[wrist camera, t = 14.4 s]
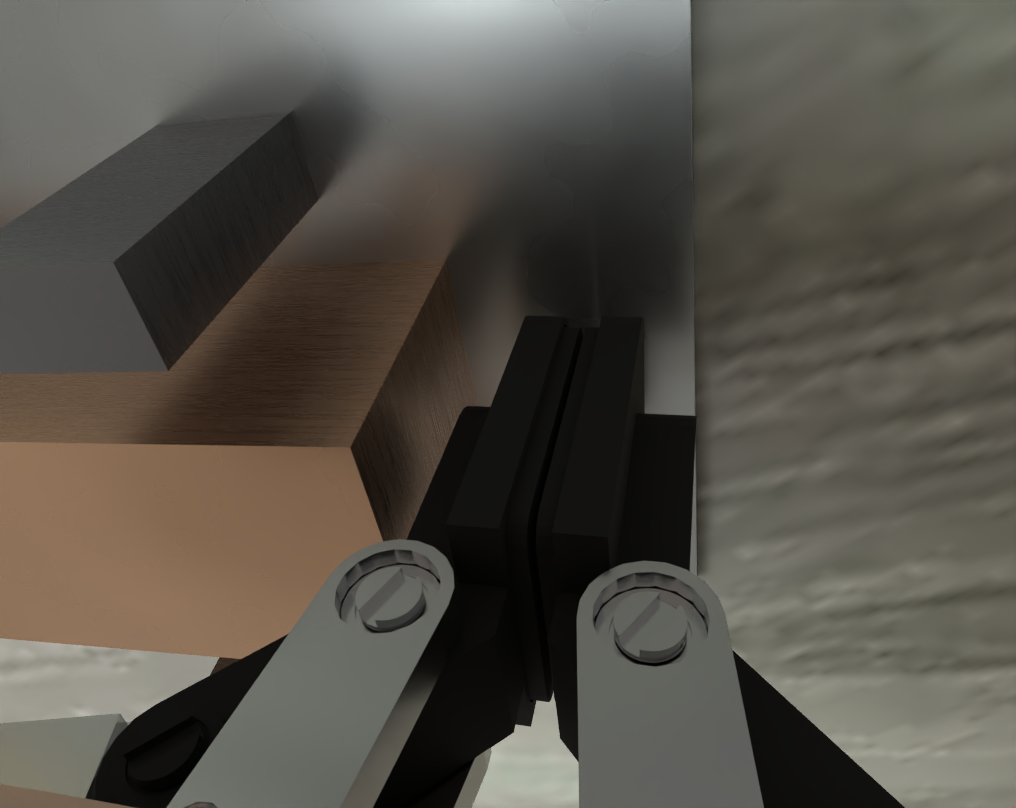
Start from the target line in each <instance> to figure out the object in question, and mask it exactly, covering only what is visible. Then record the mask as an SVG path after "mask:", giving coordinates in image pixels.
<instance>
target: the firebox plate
mask: <svg viewBox="0 0 1016 808" xmlns="http://www.w3.org/2000/svg"><path fill="white" fill-rule="evenodd" d="M443 259H446V262H447V266H448V271H449V276H450V280H451V285H452V290H453V295H454V299H455V304H456V309H457V313H458V318H459V323H460V328H461V332H462V337H463V342H464V346H465V351H466V356H467V361H468V365H469V370H470V375H471V379H472V384H473V389H474V394H475V398H476V403H477V406H482V407H491V404H492V401H493V399H494V396H495V394H496V391H497V388H498V386H499V383H500V380H501V378H502V375H503V373H504V370H505V367H506V365H507V362H508V359H509V357H510V354H511V352H512V349H513V346H514V344H515V341H516V339H517V336H518V333H519V331H520V328H521V325H522V323H523V320H524V318H525V317H526V316H566V317H567V319H568V323H569V327H581V328H582V331H583V335H584V331H585V328H586V327H599V326H600V322H601V318H602V317H643V319H644V391H645V414H667V415H689V416H696V413H695V317H694V222H693V126H692V30H691V0H0V371H1V373H2V374H35V373H93V372H152V371H169V370H170V369H171V368H172V366H173V365H174V364H175V363H176V362H177V361H178V360H179V358H180V357H181V356H182V355H183V354H184V353H185V352H186V350H187V349H188V348H189V347H190V346H191V345H192V344H193V342H194V341H195V340H196V339H197V338H198V337H199V336H200V334H201V333H202V332H203V331H204V330H205V329H206V328H207V327H208V325H209V324H210V323H211V322H212V321H213V320H214V319H215V317H216V316H217V315H218V314H219V313H220V312H221V311H222V309H223V308H224V307H225V306H226V305H227V304H228V303H229V301H230V300H231V299H232V298H233V297H234V296H235V295H236V293H237V292H238V291H239V290H240V289H241V288H242V287H243V285H244V284H245V283H246V282H247V281H248V280H249V279H250V277H251V276H252V275H253V274H254V273H255V272H256V271H257V269H258V268H259V267H278V266H302V265H325V264H349V263H373V262H396V261H420V260H443ZM690 572H691V573H693V574H694V575H696V576H697V509H696V436H695V459H694V483H693V507H692V530H691V554H690ZM238 660H240V659H236V658H224V657H220V658H219V660H218V661H217V663H216V665H215V667H214V669H213V671H212V673H211V675H212V674H214V673H216V672H218V671H220V670H222V669H223V668H225V667H227V666H229V665H231V664H233V663H235V662H236V661H238Z"/></svg>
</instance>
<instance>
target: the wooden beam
mask: <svg viewBox="0 0 1016 808" xmlns="http://www.w3.org/2000/svg"><path fill="white" fill-rule="evenodd" d="M467 406H477V403H476V398H475V394H474V389H473V384H472V379H471V375H470V370H469V365H468V361H467V356H466V351H465V346H464V342H463V337H462V332H461V328H460V323H459V318H458V313H457V309H456V304H455V299H454V295H453V290H452V285H451V280H450V276H449V271H448V266H447V262H446V259H443V260H420V261H396V262H373V263H349V264H325V265H302V266H278V267H259V268H258V269H257V271H256V272H255V273H254V274H253V275H252V276H251V277H250V279H249V280H248V281H247V282H246V283H245V284H244V285H243V287H242V288H241V289H240V290H239V291H238V292H237V293H236V295H235V296H234V297H233V298H232V299H231V300H230V301H229V303H228V304H227V305H226V306H225V307H224V308H223V309H222V311H221V312H220V313H219V314H218V315H217V316H216V317H215V319H214V320H213V321H212V322H211V323H210V324H209V325H208V327H207V328H206V329H205V330H204V331H203V332H202V333H201V334H200V336H199V337H198V338H197V339H196V340H195V341H194V342H193V344H192V345H191V346H190V347H189V348H188V349H187V350H186V352H185V353H184V354H183V355H182V356H181V357H180V358H179V360H178V361H177V362H176V363H175V364H174V365H173V366H172V368H171V369H170V370H169V371H152V372H93V373H35V374H2V373H1V371H0V638H5V639H16V640H28V641H39V642H51V643H62V644H74V645H85V646H97V647H108V648H120V649H132V650H143V651H155V652H166V653H178V654H189V655H201V656H212V657H224V658H236V659H242V658H244V657H246V656H248V655H250V654H251V653H253V652H255V651H257V650H259V649H261V648H263V647H265V646H266V645H268V644H270V643H272V642H274V641H276V640H278V639H279V638H281V637H283V636H285V635H287V634H289V633H290V631H291V630H292V628H293V627H294V626H295V624H296V623H297V621H298V620H299V618H300V617H301V616H302V614H303V613H304V611H305V610H306V608H307V607H308V606H309V604H310V603H311V601H312V600H313V599H314V597H315V596H316V594H317V593H318V591H319V590H320V589H321V587H322V586H323V584H324V583H325V581H326V580H327V579H328V577H329V576H330V574H331V573H332V572H333V571H334V570H335V569H336V568H337V567H338V566H339V565H340V564H341V563H342V561H343V560H345V559H346V558H348V557H350V556H351V555H353V554H354V553H356V552H357V551H359V550H360V549H363V548H365V547H368V546H370V545H373V544H376V543H378V542H383V541H390V540H397V539H403V540H406V539H407V537H408V535H409V532H410V530H411V528H412V525H413V523H414V520H415V518H416V516H417V513H418V511H419V509H420V506H421V504H422V502H423V499H424V497H425V495H426V492H427V490H428V488H429V485H430V483H431V481H432V478H433V476H434V474H435V471H436V469H437V467H438V464H439V462H440V460H441V457H442V455H443V452H444V450H445V448H446V445H447V443H448V441H449V438H450V436H451V434H452V431H453V429H454V427H455V424H456V422H457V420H458V417H459V415H460V413H461V412H462V410H463V408H465V407H467Z"/></svg>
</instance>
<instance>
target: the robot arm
mask: <svg viewBox="0 0 1016 808" xmlns="http://www.w3.org/2000/svg"><path fill="white" fill-rule="evenodd" d="M695 436H696V416H689V415H667V414H645V391H644V319H643V317H602V318H601V322H600V326H599V327H586V328H585V331H584V335H583V331H582V328H581V327H569V323H568V319H567V317H566V316H526V317H525V318H524V320H523V323H522V325H521V328H520V331H519V333H518V336H517V339H516V341H515V344H514V346H513V349H512V352H511V354H510V357H509V359H508V362H507V365H506V367H505V370H504V373H503V375H502V378H501V380H500V383H499V386H498V388H497V391H496V394H495V396H494V399H493V401H492V404H491V407H482V406H467V407H465V408H463V410H462V412H461V413H460V415H459V417H458V420H457V422H456V424H455V427H454V429H453V431H452V434H451V436H450V438H449V441H448V443H447V445H446V448H445V450H444V452H443V455H442V457H441V460H440V462H439V464H438V467H437V469H436V471H435V474H434V476H433V478H432V481H431V483H430V485H429V488H428V490H427V492H426V495H425V497H424V499H423V502H422V504H421V506H420V509H419V511H418V513H417V516H416V518H415V520H414V523H413V525H412V528H411V530H410V532H409V535H408V537H407V539H406V540H403V539H397V540H390V541H383V542H378V543H376V544H373V545H370V546H368V547H365V548H363V549H360V550H359V551H357V552H356V553H354V554H353V555H351V556H350V557H348V558H346V559H345V560H343V561H342V563H341V564H340V565H339V566H338V567H337V568H336V569H335V570H334V571H333V572H332V573H331V574H330V576H329V577H328V579H327V580H326V581H325V583H324V584H323V586H322V587H321V589H320V590H319V591H318V593H317V594H316V596H315V597H314V599H313V600H312V601H311V603H310V604H309V606H308V607H307V608H306V610H305V611H304V613H303V614H302V616H301V617H300V618H299V620H298V621H297V623H296V624H295V626H294V627H293V628H292V630H291V631H290V633H289V634H287V635H285V636H283V637H281V638H279V639H278V640H276V641H274V642H272V643H270V644H268V645H266V646H265V647H263V648H261V649H259V650H257V651H255V652H253V653H251V654H250V655H248V656H246V657H244V658H242V659H240V660H238V661H236V662H235V663H233V664H231V665H229V666H227V667H225V668H223V669H222V670H220V671H218V672H216V673H214V674H212V675H210V676H208V677H207V678H205V679H203V680H201V681H199V682H197V683H195V684H194V685H192V686H190V687H188V688H186V689H184V690H182V691H180V692H179V693H177V694H175V695H173V696H171V697H169V698H167V699H166V700H164V701H162V702H160V703H158V704H156V705H154V706H153V707H151V708H150V709H149V710H147V711H146V712H144V713H143V714H141V715H140V716H138V717H137V718H135V719H134V720H133V721H132V722H126V721H125V720H124V718H123V717H122V716H121V714H109V715H97V716H85V717H73V718H61V719H49V720H37V721H25V722H13V723H1V724H0V808H472V805H473V803H474V800H475V798H476V795H477V793H478V791H479V788H480V786H481V783H482V781H483V778H484V776H485V773H486V771H487V768H488V764H489V760H490V756H491V747H492V746H494V745H495V744H497V743H498V742H500V741H501V740H503V739H504V738H506V737H507V736H509V735H510V734H512V733H513V732H514V728H515V724H517V725H524V726H531V723H532V719H533V714H534V709H535V704H536V700H538V701H545V702H550V700H551V698H552V694H553V690H554V698H555V702H556V708H557V716H558V724H559V732H560V739H561V740H562V741H563V743H564V744H565V745H566V746H567V748H568V749H569V750H570V752H571V753H572V754H573V756H574V757H575V758H576V759H577V761H578V762H579V808H905V807H904V806H902V805H901V804H900V803H899V802H898V801H897V800H896V799H895V798H894V797H893V796H892V795H890V794H889V793H888V792H887V791H886V790H885V789H884V788H883V787H882V786H881V785H879V784H878V783H877V782H876V781H875V780H874V779H873V778H872V777H871V776H870V775H869V774H867V773H866V772H865V771H864V770H863V769H862V768H861V767H860V766H859V765H858V764H857V763H855V762H854V761H853V760H852V759H851V758H850V757H849V756H848V755H847V754H846V753H844V752H843V751H842V750H841V749H840V748H839V747H838V746H837V745H836V744H835V743H834V742H832V741H831V740H830V739H829V738H828V737H827V736H826V735H825V734H824V733H823V732H822V731H820V730H819V729H818V728H817V727H816V726H815V725H814V724H813V723H812V722H811V721H809V720H808V719H807V718H806V717H805V716H804V715H803V714H802V713H801V712H800V711H799V710H797V709H796V708H795V707H794V706H793V705H792V704H791V703H790V702H789V701H788V700H787V699H785V698H784V697H783V696H782V695H781V694H780V693H779V692H778V691H777V690H776V689H774V688H773V687H772V686H771V685H770V684H769V683H768V682H767V681H766V680H765V679H764V678H762V677H761V676H760V675H759V674H758V673H757V672H756V671H755V670H754V669H753V668H752V667H750V666H749V665H748V664H747V663H746V662H745V661H744V660H743V659H742V658H741V657H740V656H738V655H737V654H736V653H735V652H734V651H733V650H732V646H731V641H730V636H729V631H728V626H727V621H726V616H725V613H724V610H723V608H722V605H721V603H720V600H719V598H718V596H717V595H716V594H715V593H714V591H713V590H712V589H711V588H710V587H709V586H708V584H707V583H706V582H705V581H704V580H702V579H701V578H699V577H697V576H696V575H694V574H693V573H691V572H690V554H691V530H692V507H693V483H694V459H695Z"/></svg>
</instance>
